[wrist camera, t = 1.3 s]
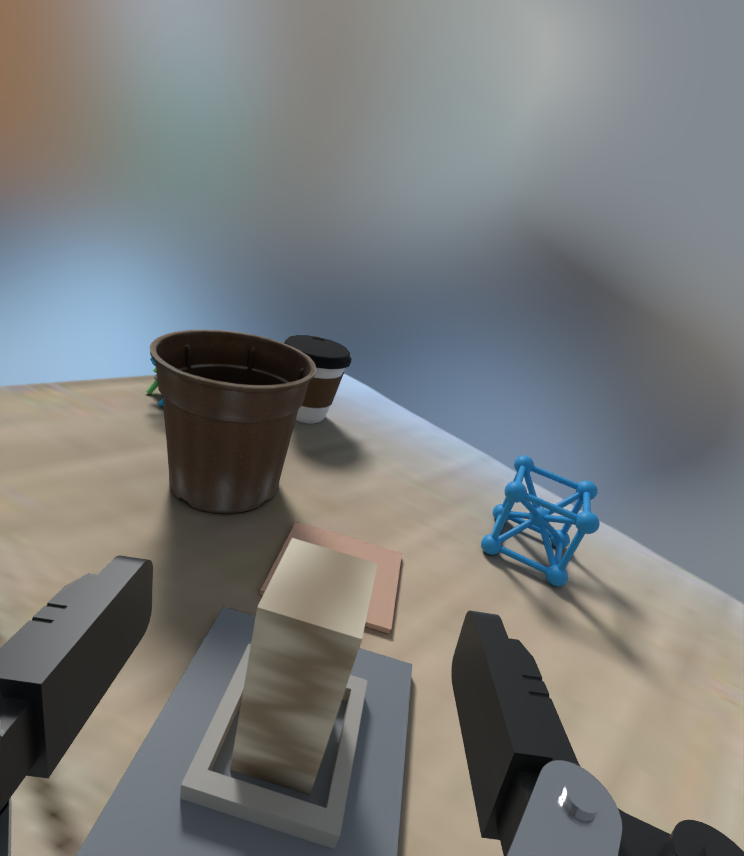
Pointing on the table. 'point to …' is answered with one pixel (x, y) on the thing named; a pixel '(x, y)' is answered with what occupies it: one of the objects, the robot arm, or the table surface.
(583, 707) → the table surface
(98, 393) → the table surface
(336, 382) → the coffee cup
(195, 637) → the table surface
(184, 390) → the plant pot
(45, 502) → the table surface
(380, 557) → the terracotta pad
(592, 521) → the molecular structure
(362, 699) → the puzzle board
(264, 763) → the maple block
